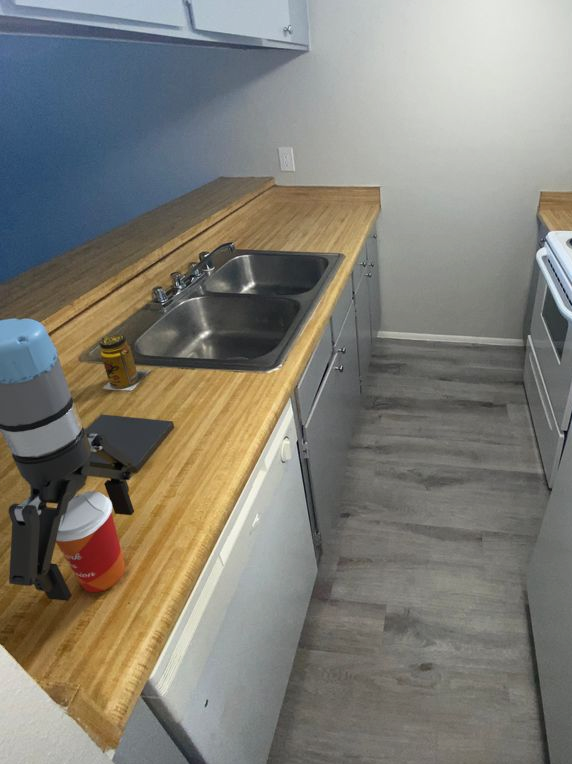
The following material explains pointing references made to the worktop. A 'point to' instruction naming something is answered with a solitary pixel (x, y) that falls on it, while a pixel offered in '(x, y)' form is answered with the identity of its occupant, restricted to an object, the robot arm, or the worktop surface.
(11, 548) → the robot arm
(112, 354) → the condiment
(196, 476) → the worktop surface
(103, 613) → the worktop surface
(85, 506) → the paper cup
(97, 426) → the scale
